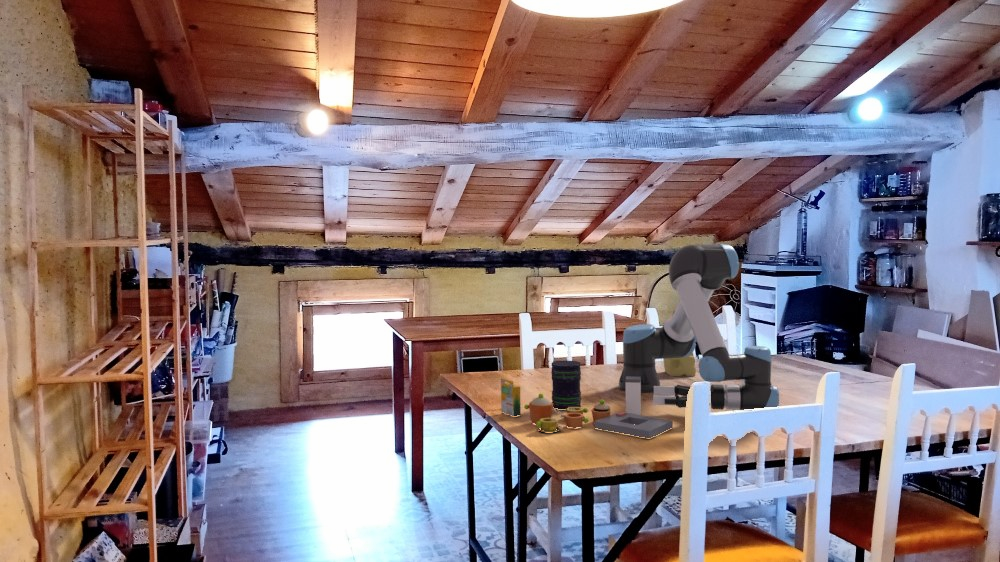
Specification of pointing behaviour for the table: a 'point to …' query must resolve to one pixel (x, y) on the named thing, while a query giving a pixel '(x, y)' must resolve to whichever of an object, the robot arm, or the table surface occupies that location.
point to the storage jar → (566, 384)
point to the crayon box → (510, 398)
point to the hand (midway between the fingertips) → (653, 394)
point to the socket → (626, 422)
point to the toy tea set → (574, 418)
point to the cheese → (680, 366)
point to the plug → (633, 395)
